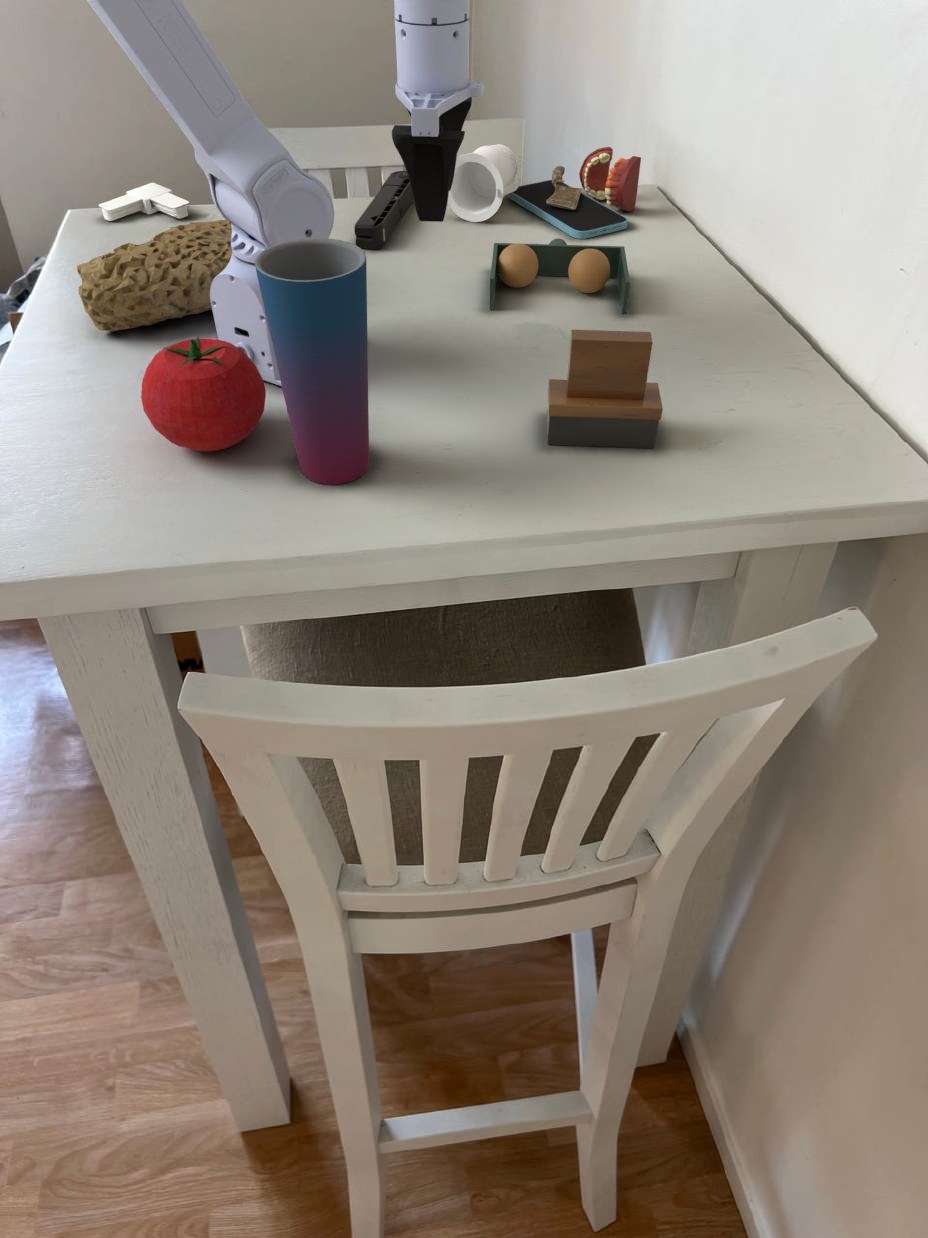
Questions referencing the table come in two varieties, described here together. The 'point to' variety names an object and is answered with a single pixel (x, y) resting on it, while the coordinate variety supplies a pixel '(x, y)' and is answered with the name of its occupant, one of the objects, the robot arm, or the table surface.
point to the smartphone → (569, 211)
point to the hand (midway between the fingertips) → (435, 203)
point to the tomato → (203, 394)
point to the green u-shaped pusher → (557, 263)
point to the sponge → (156, 276)
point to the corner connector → (145, 203)
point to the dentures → (611, 178)
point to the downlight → (482, 182)
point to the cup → (321, 351)
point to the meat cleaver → (563, 192)
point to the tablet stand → (384, 212)
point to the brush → (605, 392)
